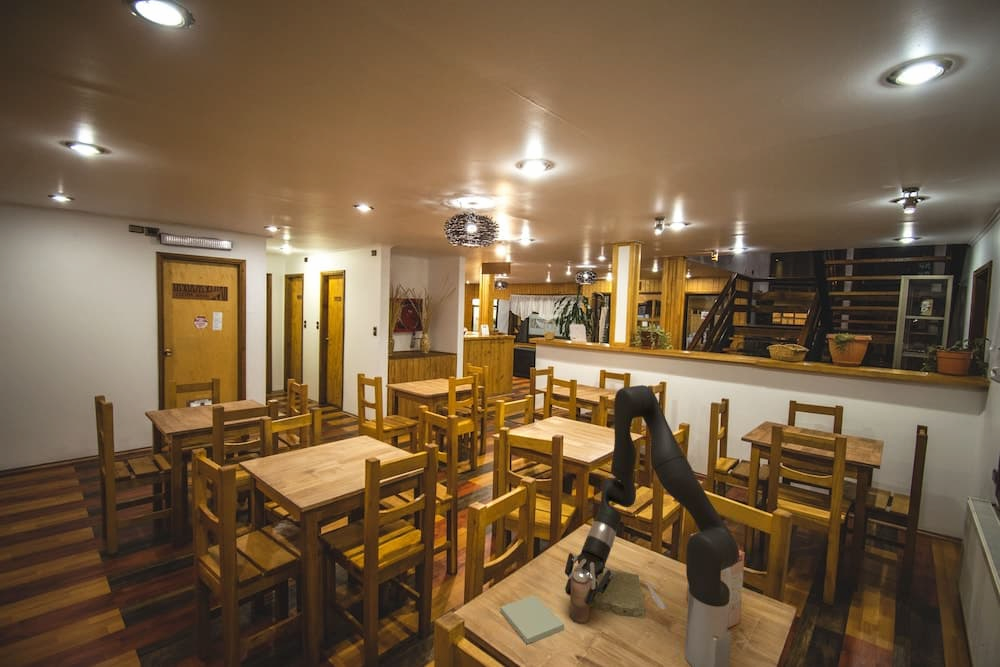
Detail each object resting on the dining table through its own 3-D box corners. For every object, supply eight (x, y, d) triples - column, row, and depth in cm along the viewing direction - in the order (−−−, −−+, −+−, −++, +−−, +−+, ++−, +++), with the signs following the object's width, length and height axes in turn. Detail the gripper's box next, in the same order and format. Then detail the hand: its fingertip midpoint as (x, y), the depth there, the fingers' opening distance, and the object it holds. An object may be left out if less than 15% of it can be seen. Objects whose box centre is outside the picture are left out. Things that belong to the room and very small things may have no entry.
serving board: (563, 629, 122) (564, 624, 122) (527, 644, 116) (527, 639, 116) (534, 599, 134) (535, 594, 134) (500, 611, 128) (500, 606, 128)
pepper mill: (593, 619, 126) (595, 575, 125) (578, 626, 123) (580, 580, 122) (580, 608, 131) (582, 565, 130) (565, 614, 128) (567, 570, 127)
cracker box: (741, 623, 127) (746, 552, 126) (727, 630, 124) (732, 557, 123) (699, 594, 139) (703, 529, 138) (685, 599, 136) (689, 533, 135)
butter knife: (657, 608, 131) (667, 608, 132) (626, 558, 158) (634, 558, 159) (657, 610, 132) (667, 610, 132) (626, 560, 158) (635, 559, 159)
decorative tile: (576, 572, 149) (577, 562, 149) (639, 582, 145) (639, 572, 145) (574, 609, 131) (574, 597, 131) (645, 621, 127) (646, 609, 127)
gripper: (574, 527, 136) (550, 583, 128) (618, 545, 127) (596, 606, 118) (582, 538, 140) (560, 592, 132) (625, 555, 131) (604, 615, 123)
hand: (577, 598), depth 125 cm, fingers closed on pepper mill, 5 cm apart
